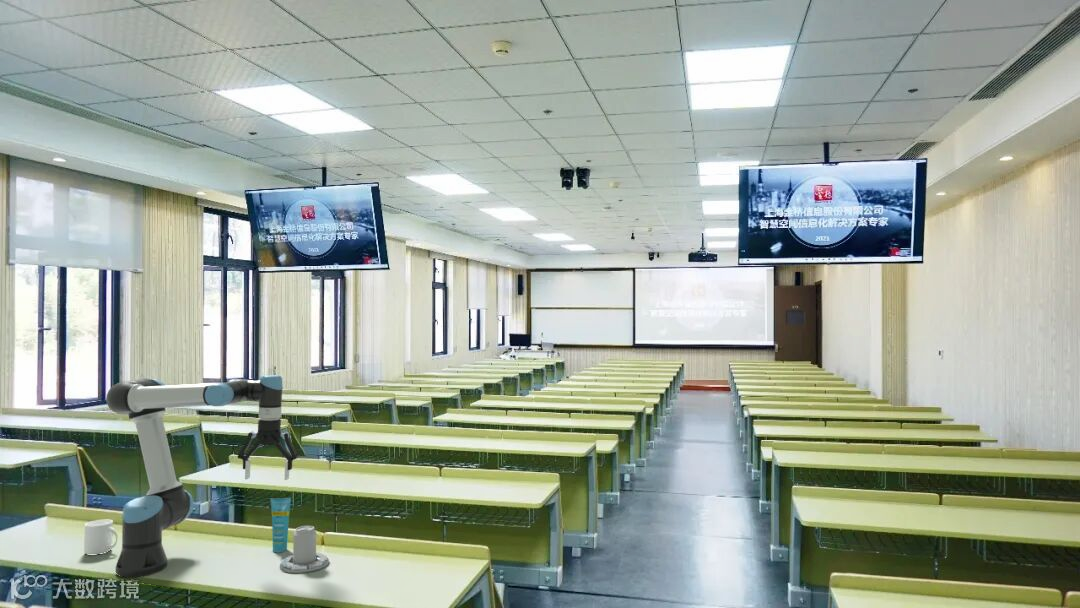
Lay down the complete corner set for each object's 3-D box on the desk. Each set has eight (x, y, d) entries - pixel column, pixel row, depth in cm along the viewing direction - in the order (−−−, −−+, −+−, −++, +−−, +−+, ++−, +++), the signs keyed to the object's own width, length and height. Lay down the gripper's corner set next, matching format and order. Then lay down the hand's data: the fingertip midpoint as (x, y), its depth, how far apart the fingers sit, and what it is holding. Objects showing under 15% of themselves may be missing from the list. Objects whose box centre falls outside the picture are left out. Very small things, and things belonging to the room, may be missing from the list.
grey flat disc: (273, 574, 224) (273, 568, 224) (287, 557, 240) (287, 552, 240) (322, 572, 225) (322, 566, 225) (333, 556, 241) (333, 550, 241)
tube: (267, 553, 244) (268, 500, 245) (271, 548, 249) (272, 496, 250) (289, 552, 246) (289, 499, 246) (292, 547, 250) (292, 496, 251)
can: (288, 565, 230) (289, 530, 230) (300, 558, 237) (301, 523, 237) (308, 567, 228) (308, 531, 228) (320, 559, 235) (320, 525, 236)
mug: (107, 557, 240) (107, 527, 240) (78, 555, 242) (78, 525, 242) (125, 549, 248) (126, 520, 248) (97, 547, 250) (98, 518, 251)
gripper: (229, 419, 234) (226, 480, 233) (302, 421, 236) (300, 481, 235) (237, 416, 242) (234, 475, 241) (308, 418, 243) (305, 476, 243)
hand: (267, 478), depth 238 cm, fingers open, 13 cm apart
